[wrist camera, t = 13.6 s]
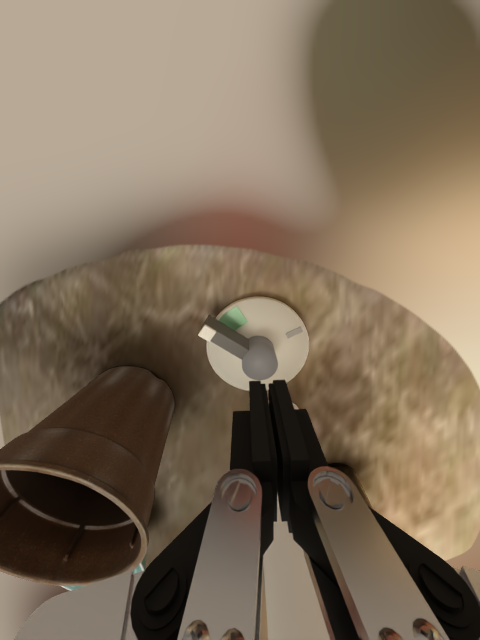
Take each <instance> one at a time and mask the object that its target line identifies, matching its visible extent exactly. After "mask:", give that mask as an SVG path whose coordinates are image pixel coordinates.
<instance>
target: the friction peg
mask: <svg viewBox="0 0 480 640" xmlns="http://www.w3.org/2000/svg"><path fill="white" fill-rule="evenodd" d="M198 336H200V337H201V338H203V339H205V340H207V341H208V342H210V341H211V342H212V343H214V344H216V345H218V346H219V347H221V348H223V349H224V350H226V351H228V352H229V353H231V354H233V355H235V356H236V357H238V358H240V359H241V360H242V369H243V371H244V373H245V374H246V375H247V376H248V377H249V378H251V379H254V380H265V379H268V378H270V377H271V376H273V375H274V374H275V372H276V370H277V368H278V361H277V357H276V354H275V350H274V347H273V344H272V342H271V341H270V340H269V339H268V338H266V337H264V336H253V337H250V338H249V339H248V338H246V337H244V336H243V335H241V334H240V333H238V332H236V331H235V330H233V329H231V328H230V327H228V326H226V325H225V324H223V323H222V322H220V321H218V320H217V319H215V318H213V317H212V316H210V315H209V316H208V318H207V319H206V321H205V322H204V324H203V326H202V328H201V330H200V332H199V334H198Z"/></svg>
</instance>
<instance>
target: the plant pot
mask: <svg viewBox="0 0 480 640" xmlns="http://www.w3.org/2000/svg"><path fill="white" fill-rule="evenodd" d="M174 409H175V402H174V397H173V394H172V391H171V389H170V388H169V386H168V385H167V384H166V383H165V381H164V380H161V379H158V378H157V377H155V376H154V375H153V374H152V373H151V372H150V371H149V370H146V369H143V368H140V367H134V366H120V367H114V368H111V369H109V370H106V371H105V372H103V373H101V374H100V375H99V376H98V377H97V378H95V379H94V380H93V381H92V382H90V383H89V384H88V385H87V386H85V387H84V388H83V389H82V390H80V391H79V392H78V393H77V394H75V395H74V396H73V397H72V398H70V399H69V400H68V401H67V402H65V403H64V404H63V405H62V406H60V407H59V408H58V409H57V410H55V411H54V412H53V413H51V414H50V415H49V416H48V417H46V418H45V419H44V420H43V421H41V422H40V423H39V424H38V425H36V426H35V427H34V428H33V429H31V430H30V431H29V432H27V433H25V434H22V435H20V436H18V437H17V438H15V439H13V440H12V441H11V442H9V443H8V444H7V445H5V446H4V447H3V448H1V449H0V571H1V572H4V573H6V574H9V575H12V576H15V577H18V578H21V579H25V580H30V581H33V582H38V583H43V584H50V585H57V586H86V585H89V584H93V583H96V582H99V581H102V580H105V579H108V578H111V577H114V576H117V575H120V574H123V573H126V572H129V571H133V570H134V569H136V568H137V567H138V565H139V564H140V563H141V562H142V560H143V558H144V557H145V554H146V551H147V546H148V541H149V535H148V529H147V527H148V523H149V518H150V514H151V510H152V506H153V502H154V496H155V488H154V485H155V481H156V477H157V474H158V470H159V466H160V462H161V458H162V454H163V450H164V446H165V443H166V439H167V435H168V431H169V427H170V424H171V420H172V417H173V413H174Z"/></svg>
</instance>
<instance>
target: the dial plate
mask: <svg viewBox="0 0 480 640" xmlns="http://www.w3.org/2000/svg"><path fill="white" fill-rule="evenodd" d="M215 319H217V320H218V321H220V322H222V323H223V324H225V325H226V326H228V327H230V328H231V329H233V330H235V331H236V332H238V333H240V334H241V335H243V336H244V337H246V338H248V339H249V338H250V337H253V336H264V337H266V338H268V339H269V340H270V341H271V342H272V344H273V347H274V350H275V354H276V357H277V361H278V368H277V370H276V372H275V374H274V375H273V376H271V377H270V378H268V379H265V380H254V379H251V378H249V377H248V376H247V375H246V374H245V373H244V371H243V369H242V360H241V359H240V358H238V357H236V356H235V355H233V354H231V353H229V352H228V351H226V350H224V349H223V348H221V347H219V346H218V345H216V344H214V343H212V342H211V341H210V342H208V341H207V355H208V359H209V362H210V364H211V366H212V368H213V369H214V371H215V372H216V373H217V374H218V376H219V377H220V378H222V379H223V380H224V381H225V382H227V383H228V384H230V385H232V386H234V387H236V388H239V389H242V390H247V391H249V381H261V384H265V385H266V391H267V390H269V383H273V380H285V381H286V383H287V382H289V381H290V380H291V379H293V378H294V377H295V376H296V375H297V374H298V373H299V371H300V370H301V369H302V367H303V366H304V364H305V362H306V359H307V356H308V352H309V337H308V333H307V330H306V327H305V325H304V323H303V322H302V320H301V319H300V317H299V316H298V315H297V313H296V312H295V311H294V310H293V309H292V308H290V307H289V306H288V305H286V304H285V303H283V302H281V301H279V300H276V299H273V298H270V297H263V296H254V297H247V298H243V299H240V300H237V301H235V302H233V303H231V304H230V305H228V306H227V307H225V308H224V309H223V310H222V311H221V312H220V313H219V314H218V315H217V317H216V318H215Z"/></svg>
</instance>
